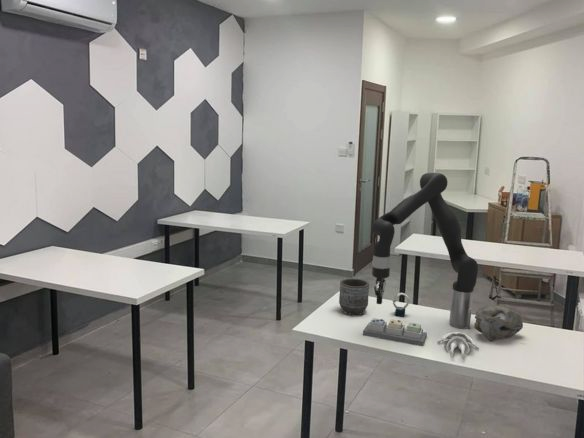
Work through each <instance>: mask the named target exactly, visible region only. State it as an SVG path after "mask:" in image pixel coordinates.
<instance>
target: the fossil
mask: <svg viewBox="0 0 584 438" xmlns="http://www.w3.org/2000/svg"><path fill="white" fill-rule="evenodd" d="M474 319H475V322H474V325H473V327H474V329H475V330H476V331H478V332H479V333H481V334H483V335H484V337H485V338H487V339H488V340H489V341H490V342H494V341H496V340H500V339H501V340H502V339H509V338H512V337H514V336H515V335H516V334H517V333H519V332H520V331H521V330H522V329H523V326H524V324H523V323H524V322H523V320H522V315H521V314H520V313H519V312H517V311H515V310H513V309H510V308H507V307H505V306H502V305H491V304H490V305H485V306H482V307H479V308H478V310H477V311H475V315H474Z"/></svg>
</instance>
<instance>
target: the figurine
mask: <svg viewBox="0 0 584 438" xmlns="http://www.w3.org/2000/svg"><path fill="white" fill-rule="evenodd" d="M445 340H448V341H447V343H446V346H445V348H446V352H448V353H449V355H450V358H453V357H454V350H455V349H457V348H458V349H459V350H460V351H461V354H460V356H461V357H460V359H461V360H464V358H465V356H466V355H468V354H469V353H470V351H471V349H470V346H469V344H470V345H471V346H473V348H475V351H479V350H480V347H479V346H478V345H476V343H475V342H474V340H473V339H472V337H471V336H469V335H467V334H466V333H464V332H459V331H457V332H456V331H454V332H447V333H446V334H444V336H442V338H440V339H438V340H437V341H436V344H437V345H440V344H441V343H442V342H444V341H445Z"/></svg>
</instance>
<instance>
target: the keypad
mask: <svg viewBox="0 0 584 438" xmlns="http://www.w3.org/2000/svg"><path fill="white" fill-rule="evenodd" d="M372 320H373V318H372V319H370V320H369V322H368V323H367V325H366V326H365V327H364V329H363V330H362V336H367V337H371V338H375V339H381V340H387V341H393V342H397V343H403V344H410V345H413V346H419V347H424V345H425V342H426V339H427V336H428V332H426V331H424V328H423V327H421V331H420V333H417V332H411V331H407V326H408V324H407V326H406V325H405V324H402V328H401V330H400V329H394V328H389V323H388V322H387V321H386V320H384V325H383V326H378V325H372V324H371V321H372ZM387 323H388V324H387ZM405 326H406V327H405Z"/></svg>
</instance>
